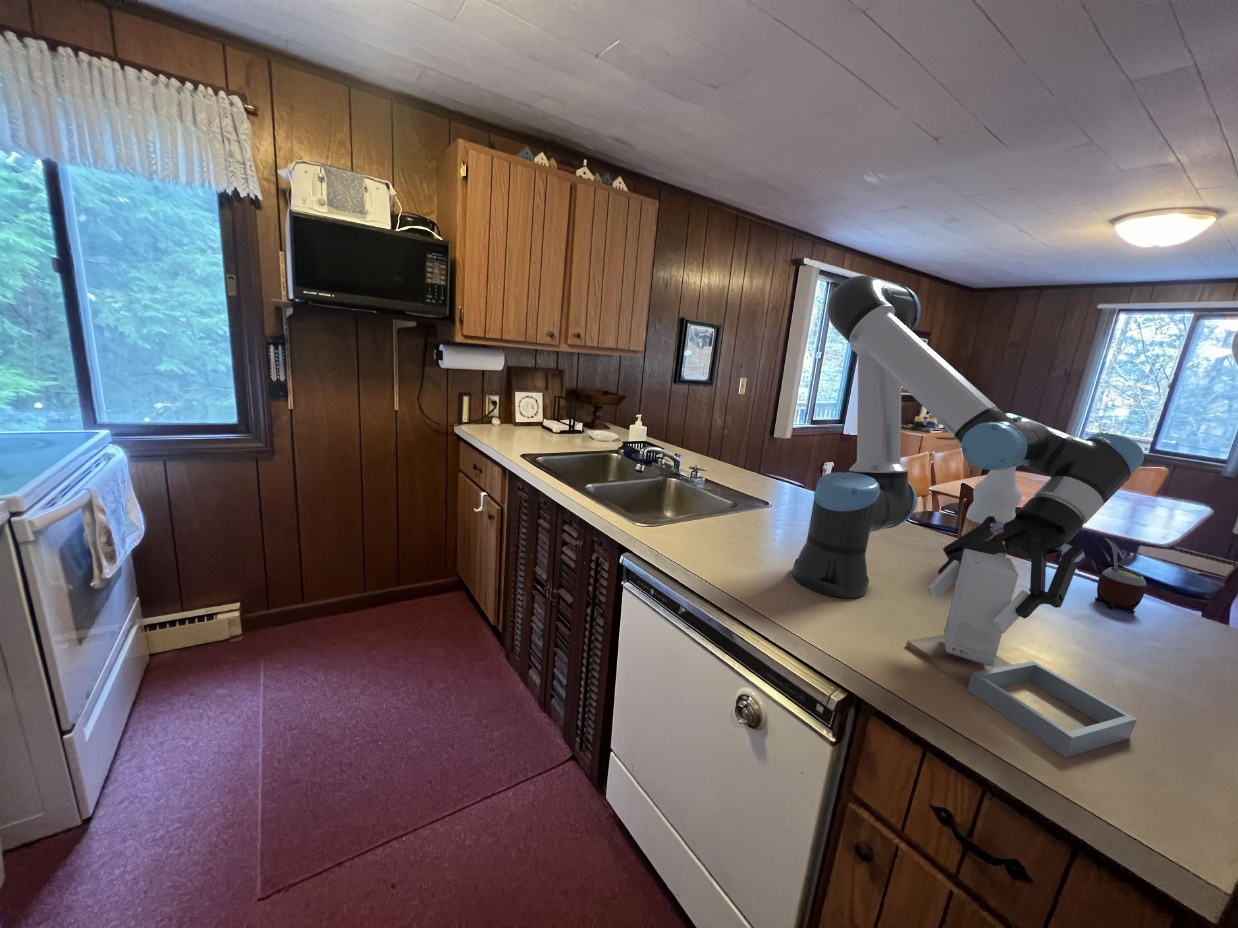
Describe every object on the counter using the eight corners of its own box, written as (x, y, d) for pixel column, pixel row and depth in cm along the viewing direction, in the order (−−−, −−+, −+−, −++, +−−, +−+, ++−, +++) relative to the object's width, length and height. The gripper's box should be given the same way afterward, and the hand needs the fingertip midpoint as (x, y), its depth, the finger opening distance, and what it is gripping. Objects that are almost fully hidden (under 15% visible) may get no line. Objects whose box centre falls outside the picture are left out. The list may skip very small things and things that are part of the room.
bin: (966, 690, 72) (972, 672, 72) (1027, 677, 77) (1032, 660, 76) (1065, 757, 61) (1072, 737, 60) (1130, 737, 65) (1137, 718, 65)
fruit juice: (946, 557, 125) (973, 451, 119) (985, 561, 125) (1014, 455, 118) (968, 573, 116) (998, 459, 110) (1009, 578, 115) (1042, 464, 109)
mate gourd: (1141, 610, 104) (1165, 545, 101) (1130, 618, 100) (1154, 551, 97) (1095, 594, 110) (1116, 532, 107) (1083, 601, 106) (1104, 537, 103)
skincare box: (992, 668, 74) (1021, 576, 70) (942, 651, 78) (967, 562, 74) (987, 643, 81) (1013, 557, 77) (940, 628, 84) (963, 545, 81)
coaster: (906, 645, 83) (907, 640, 83) (956, 637, 87) (957, 632, 87) (969, 688, 73) (971, 682, 72) (1022, 677, 77) (1024, 671, 76)
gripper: (1153, 554, 69) (1050, 665, 68) (992, 504, 90) (910, 588, 88) (1144, 520, 66) (1036, 636, 65) (979, 476, 87) (894, 563, 85)
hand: (963, 608), depth 77 cm, fingers open, 10 cm apart
